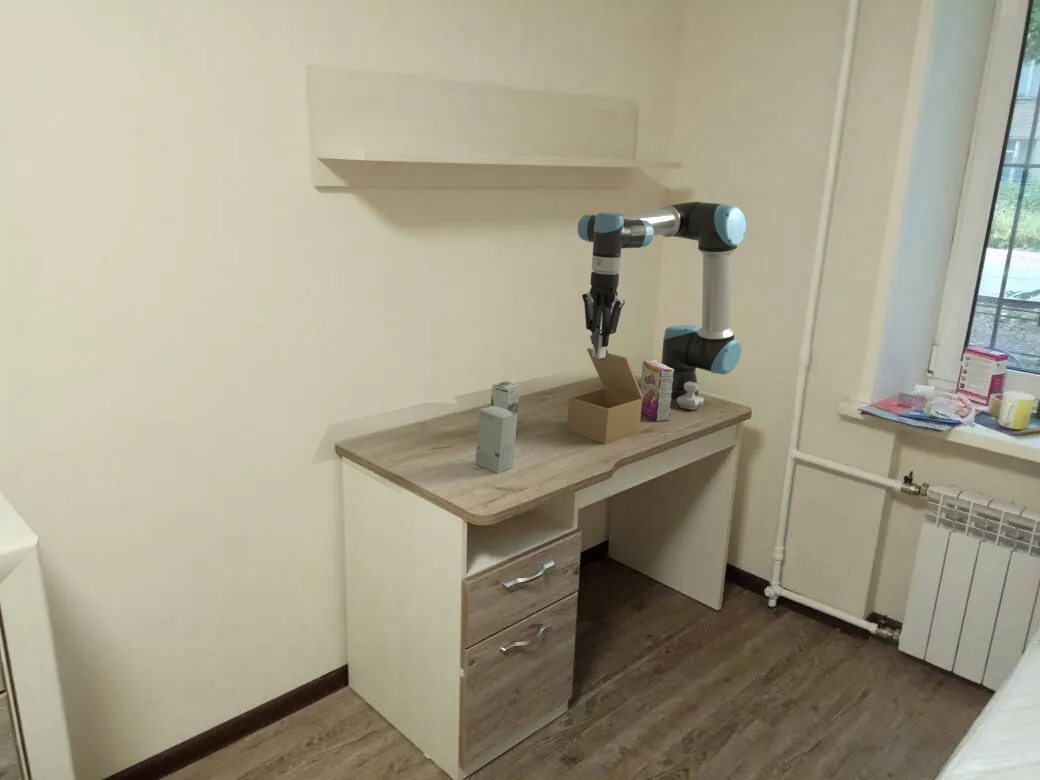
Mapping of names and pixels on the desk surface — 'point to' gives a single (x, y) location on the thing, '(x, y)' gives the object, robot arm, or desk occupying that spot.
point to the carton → (604, 415)
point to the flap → (614, 371)
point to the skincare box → (496, 438)
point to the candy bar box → (656, 390)
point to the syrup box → (505, 396)
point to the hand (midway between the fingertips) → (598, 356)
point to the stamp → (690, 397)
